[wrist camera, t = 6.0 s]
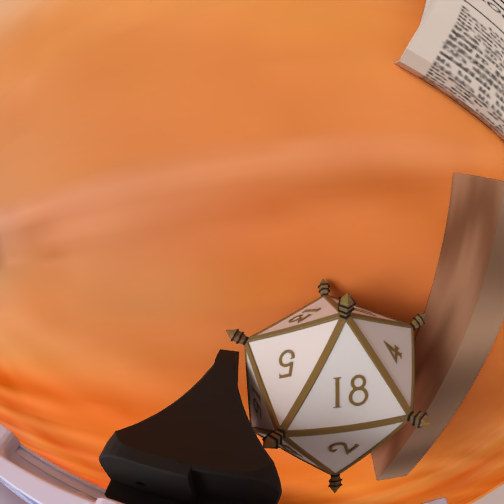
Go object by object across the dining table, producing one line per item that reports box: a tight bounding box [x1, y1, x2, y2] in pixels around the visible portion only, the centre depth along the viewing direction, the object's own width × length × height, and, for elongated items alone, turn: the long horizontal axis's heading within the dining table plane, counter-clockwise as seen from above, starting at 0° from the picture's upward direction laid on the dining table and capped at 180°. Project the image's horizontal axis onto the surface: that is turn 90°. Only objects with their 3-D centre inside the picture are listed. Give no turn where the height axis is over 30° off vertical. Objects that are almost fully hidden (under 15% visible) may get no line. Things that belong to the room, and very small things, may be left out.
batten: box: [371, 173, 504, 480], centre depth 12 cm, size 19×2×4 cm, turn 177°
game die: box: [226, 279, 432, 493], centre depth 11 cm, size 9×8×10 cm
